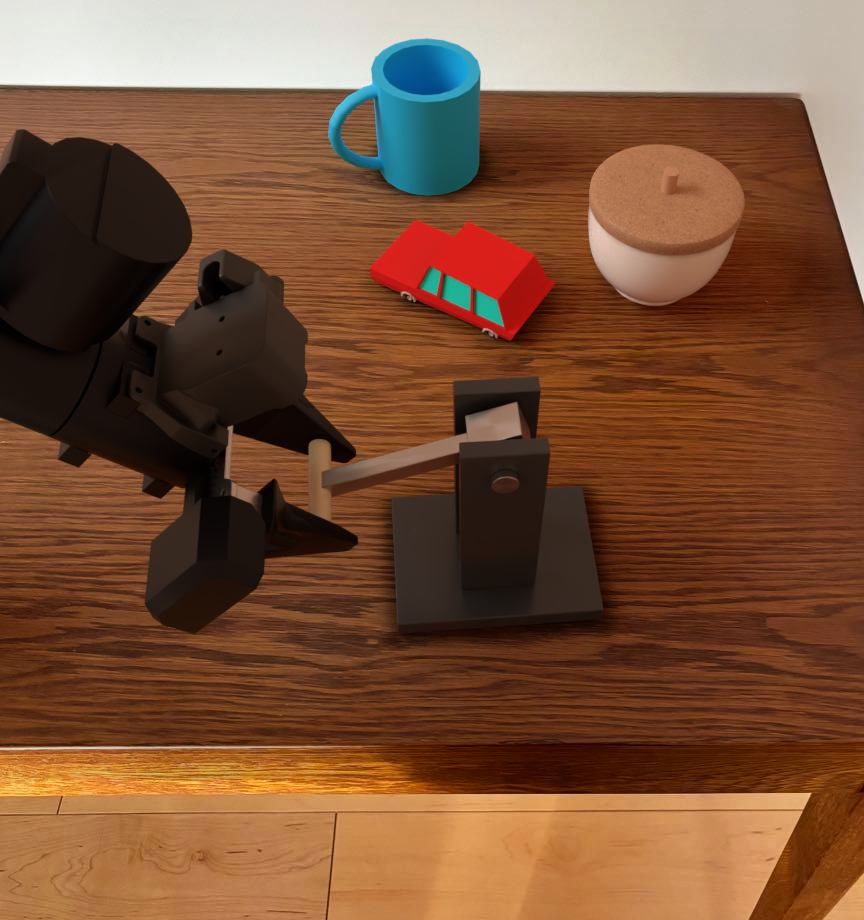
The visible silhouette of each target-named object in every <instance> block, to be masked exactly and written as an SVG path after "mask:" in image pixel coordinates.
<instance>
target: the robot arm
mask: <svg viewBox="0 0 864 920" xmlns="http://www.w3.org/2000/svg"><path fill="white" fill-rule="evenodd" d="M1 153H2V154H1V157H0V419H2V420H5V421H7V422H10V423H12V424H15V425H18V426H20V427H22V428H25V429H28V430H29V431H33V432H36V433H38V434H39V435H40V434H41V435H43V436H45V437H47V438H50V439H52V440H54V441H57V442H59V443H60V444H59V449H58V454H57V461H59V462H61V463H65V464H67V465H70V466H73V467H75V468H78V469H79V468H81V466H82V465H83V464H84V463H85V462H87V460H88V459H89V458H90V457H91V456H92V455H94V456H96V457H98V458H101V459H103V460H106V461H107V462H110V463H114V464H116V465H119V466H121V467H124V468H126V469H128V470H131V471H134V472H137V473H139V474H142V475H143V478H142V486H141V492H142V493H144V494H147V495H149V496H152V497H155V498H157V499H160V500H162V499H163V498H164V497H165V496H166V495H167V494H168V493H169V492H171V491H172V489H174V488H175V487H176V488H179V489H184V497H183V507H182V508H183V509H182V514H181V515H180V516H178V518H176V519H175V520H174V521H173V522H171V524H169V525H167V527H166V528H165V529H163V530H162V531H161V532H160V533H159V534H158V535H156V537H154V538H153V539H152V540H151V542H150V548H149V557H148V566H147V575H146V585H145V593H144V594H145V595H144V603H143V604H144V606H145V607H146V609H147V611H148V612H149V615H150V616H151V618H152V619H153V620H155V621H157V622H158V623H159V624H160V625H162V626H164V627H167V628H172V629H175V630H178V631H181V632H185V633H188V634H191V635H194V636H195V635H196V634H197V633H199V632H200V631H202V630H203V629H204V628H206V627H207V626H208V625H209V624H211V623H212V622H213V621H216V620H217V619H218V618H219V617H220V616H222V615H223V614H225V613H226V612H227V611H229V610H230V609H232V608H233V607H234V606H236V605H237V604H239V603H240V602H241V601H242V600H243V599H245V598H246V597H247V596H249V595H250V594H251V593H253V592H254V591H256V590H257V589H258V586H259V585H260V582H261V580H262V578H263V576H264V574H265V561H266V560H268V559H276V558H277V559H279V558H286V557H299V556H310V555H320V554H321V555H323V554H333V553H343V552H344V553H345V552H348V551H350V550H352V549H353V548H354V547H356V546H357V545H359V537H358V536H357V534H355V533H353V532H351V531H350V530H348V529H346V528H344V527H343V526H341V525H339V524H338V523H335V522H333V521H332V522H330V521H328V520H326V519H324V518H321V517H319V516H317V515H314V514H312V513H310V512H308V510H305V509H302V508H300V507H298V506H296V505H294V504H291V503H289V502H287V501H286V500H285V497H284V495H283V492H282V490H281V488H280V484H279V481H278V480H277V479H276V478H272V479H271V480H270V481H269V482H267V483H266V484H265V485H264V486H262V488H261V487H260V489H259V490H258V491H254V490H252V489H249V488H247V487H245V486H243V485H240V484H239V483H237V482H236V481H235V480H234V479H233V480H232V479H231V467H232V454H233V453H232V452H233V436H234V435H237V436H240V437H244V438H247V439H251V440H254V441H256V442H257V441H258V442H261V443H265V444H268V445H271V446H275V447H278V448H281V449H285V450H288V451H291V452H295V453H299V454H302V455H305V456H308V457H309V443H310V442H311V441H313V440H316V439H324V440H326V441H328V442H329V443H330V444H331V462H332V463H339V464H347V463H350V461H352V460H353V459H354V458H356V456H357V448H356V447H355V446H354V445H353V444H352V443H351V442H350V441H349V440H348V439H347V438H346V437H345V436H344V435H343V434H342V433H341V432H340V431H339V429H337V428H336V426H334V424H332V422H331V421H329V419H327V417H325V415H324V414H323V413H322V412H321V411H320V410H319V409H318V408H317V407H316V406H315V405H314V404H313V403H312V402H311V401H310V399H308V398H307V396H305V395H304V393H305V392H306V389H307V386H308V381H309V379H308V377H309V376H308V375H309V374H308V372H307V370H306V344H307V343H308V342H309V333H308V330H307V328H306V327H305V326H304V325H303V323H301V321H299V320H298V319H297V317H296V316H295V315H294V314H293V313H292V312H291V311H290V310H289V309H288V308H287V307H286V306H285V305H284V304H285V282H284V279H282V278H281V277H280V276H278V275H272V274H271V275H269V274H268V273H267V272H266V271H265V270H264V269H263V267H262V266H261V265H259V264H258V263H255V262H253V261H251V260H249V259H248V258H247V259H246V258H244V257H242V256H240V255H238V254H236V253H234V252H231V251H229V250H227V249H225V248H222V249H219V250H218V251H216V252H214V253H211V254H209V255H207V256H205V257H203V258H201V259H200V260H199V264H198V274H197V275H198V276H197V284H196V285H197V286H196V287H197V288H196V289H197V292H198V295H197V296H196V298H194V299H193V301H191V302H189V303H188V305H187V307H186V308H185V309H184V311H182V312H181V313H180V315H179V316H178V317H176V319H175V320H174V325H172V324H168V323H163V322H160V321H158V320H156V319H154V318H152V317H150V316H148V315H140V316H138V315H136V314H134V313H135V312H136V311H137V310H138V308H140V306H141V305H142V304H143V303H144V302H145V301H146V299H147V298H149V296H150V295H151V294H152V292H154V290H155V289H156V288H157V287H158V286H159V285H160V283H161V282H162V281H163V280H164V279H165V278H166V276H168V274H169V273H170V272H171V271H172V270H173V269H174V267H175V266H176V265H177V264H178V263H179V262H180V261H181V259H182V258H183V257H184V256H185V255H186V254H187V252H188V250H189V248H190V247H191V245H192V241H193V228H192V221H191V217H190V215H189V213H188V211H187V208H186V206H185V204H184V202H183V200H182V199H181V197H180V195H179V194H178V193H177V191H176V190H175V189H174V187H173V186H172V185H171V184H170V182H169V181H168V180H167V178H165V176H164V175H163V174H161V172H159V171H158V169H156V167H154V166H153V165H152V164H151V163H149V162H148V161H147V160H146V159H144V158H143V157H142V156H140V155H139V154H137V153H136V152H135V151H133V150H132V149H130V148H128V147H126V146H124V145H122V144H121V143H118V142H115V143H113V144H110V143H107V142H104V141H101V140H99V139H94V138H89V137H82V136H76V137H75V136H74V137H65V138H63V139H60V140H58V141H56V142H54V143H53V144H52V143H49V142H48V141H46V140H44V139H43V138H41V137H39V136H37V135H35V134H34V133H33V132H30V131H29V130H27V129H25V128H21V129H16V130H15V131H14V132H13V134H12V136H11V138H10V139H9V140H8V142H7V143H6V145H5V147H4V149H3V150H2V152H1Z"/></svg>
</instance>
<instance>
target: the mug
mask: <svg viewBox="0 0 864 920" xmlns="http://www.w3.org/2000/svg"><path fill="white" fill-rule="evenodd" d="M370 71H371V72H370V73H371V82H372V84H369V85H365V86H363V87H361V88H359V89H357V90H356V91H354V92H352V93H351V94H349V95H348V96H347V97H345V99H344V100H342V101H341V102H340V103H339V104H338V106H336V108H335V110H334V111H333V114H332V116H331V117H330V119H329V122H328V132H327V136H328V140H329V142H330V145H331V148H332V150H333V152H334V153H336V154H337V155H338V157H340V159H342V161H344V162H345V163H348V164H350V165H352V166H354V167H356V168H359V169H365V170H366V169H367V170H371V171H373V170H374V171H377V170H379V171H380V174H381V175H382V177H383V178H384V179H385V180H386V182H387V183H389V184H390V185H391V186H392V187H395V188H396V189H398V190H400V191H403V192H406V193H408V194H412V195H418V196H426V197H429V196H442V195H447V194H450V193H453V192H457V191H460V190H461V189H463V188H464V187H465V186H467V185H469V184H470V183H471V182H472V181H473V180H474V178H475V177H476V176H477V174H478V171H479V167H480V146H481V145H480V143H481V142H480V141H481V139H480V138H481V137H480V136H481V135H480V134H481V67H480V64H479V60H478V59H477V58H476V57H475V55H474V54H473V53H472V52H471V51H470V50H468V49H466V48H465V47H463V46H461V45H460V44H457V43H454V42H450V41H447V40H444V39H443V40H442V39H437V38H436V39H435V38H428V37H427V38H415V39H414V38H413V39H407V40H404V41H400V42H396V43H394V44H391V45H390V46H388V47H386V48H384V49H382V50H381V52H380V53H378V55H376V56H375V58H374V60H373V62H372V65H371V67H370ZM370 100H373V107H374V120H375V132H376V144H377V156H367V155H360V154H359V153H356V152H354V151H352V150H350V149H349V148H348V147H347V145H345V144H344V141H343V138H342V127H343V125H344V123H345V121H346V119H347V118H348V116H349V115H350V114H351V113H352V112H353V111H354V110H355V109H356V108H357V107H359V106H361V105H362V104H364V103H366V102H368V101H370Z"/></svg>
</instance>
